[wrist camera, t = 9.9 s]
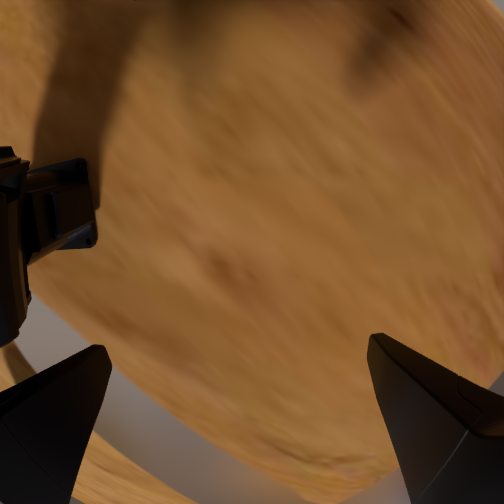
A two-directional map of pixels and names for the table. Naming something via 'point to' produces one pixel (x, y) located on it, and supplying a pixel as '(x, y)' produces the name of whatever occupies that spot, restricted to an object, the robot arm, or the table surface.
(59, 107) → the table surface
